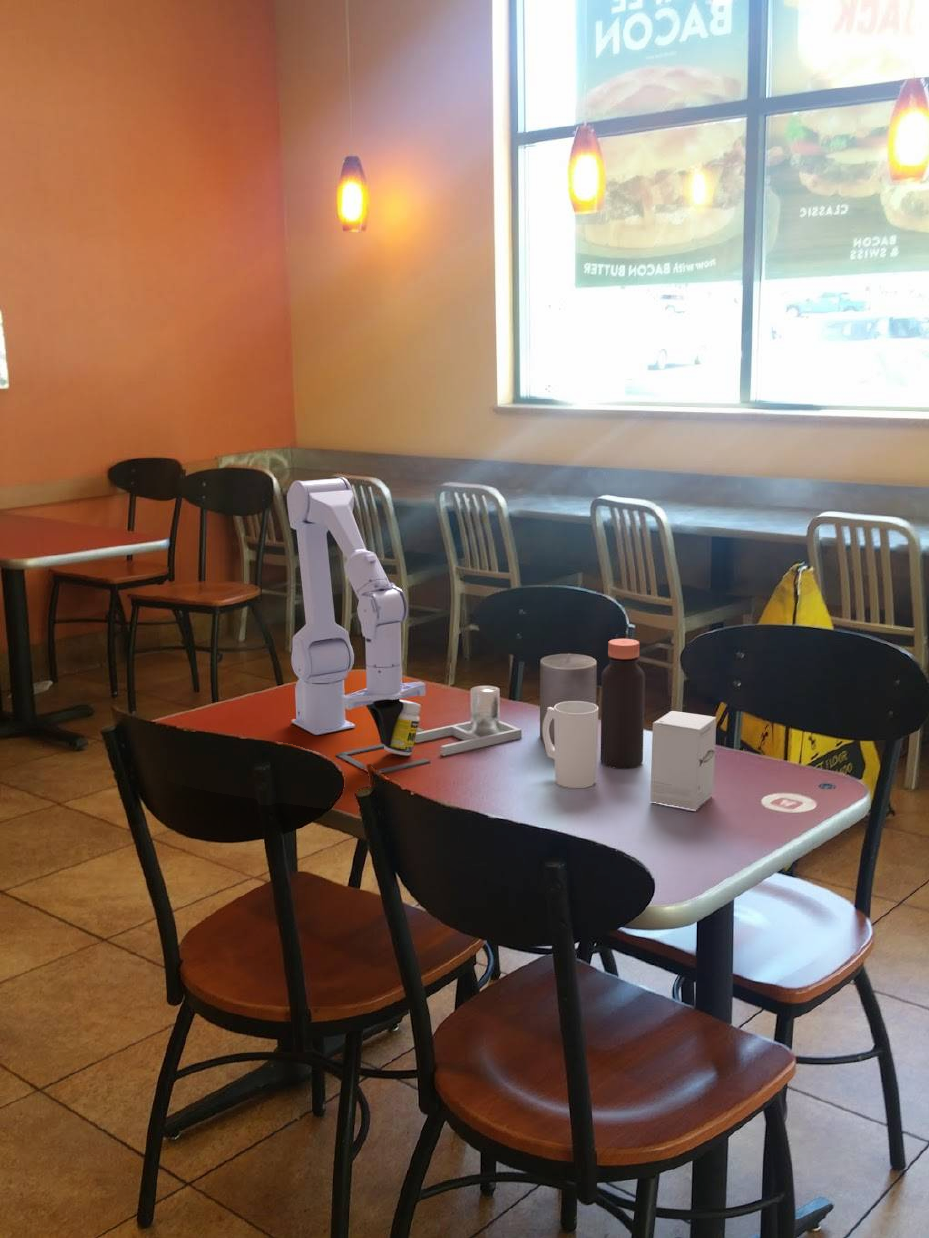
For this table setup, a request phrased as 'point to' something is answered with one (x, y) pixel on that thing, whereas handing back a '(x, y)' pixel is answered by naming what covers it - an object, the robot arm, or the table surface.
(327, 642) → the robot arm
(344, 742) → the table surface
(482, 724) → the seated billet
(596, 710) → the mug
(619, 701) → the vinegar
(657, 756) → the supplement box
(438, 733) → the workpiece holding fixture
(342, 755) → the tote
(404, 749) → the supplement bottle
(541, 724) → the pillar candle
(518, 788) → the table surface
